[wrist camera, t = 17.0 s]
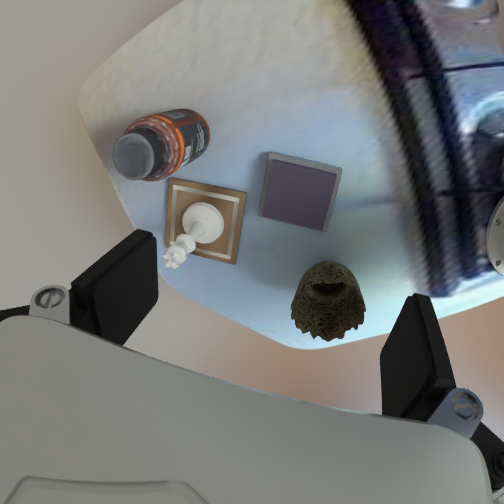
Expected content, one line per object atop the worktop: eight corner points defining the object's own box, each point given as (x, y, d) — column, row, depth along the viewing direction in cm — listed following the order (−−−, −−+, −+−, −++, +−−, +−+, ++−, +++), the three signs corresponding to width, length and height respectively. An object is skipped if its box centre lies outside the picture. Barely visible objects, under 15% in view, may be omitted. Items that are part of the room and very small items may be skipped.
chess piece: (203, 193, 35) (165, 230, 27) (232, 226, 37) (203, 272, 28) (175, 218, 38) (134, 259, 29) (203, 248, 39) (170, 296, 30)
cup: (320, 307, 40) (317, 351, 33) (284, 265, 38) (275, 306, 31) (371, 278, 37) (378, 321, 30) (336, 231, 35) (339, 268, 28)
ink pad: (341, 168, 32) (343, 172, 30) (325, 228, 35) (325, 236, 33) (270, 151, 32) (267, 155, 31) (259, 212, 36) (256, 219, 34)
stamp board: (247, 192, 35) (245, 194, 34) (235, 262, 40) (234, 265, 39) (171, 177, 36) (168, 178, 35) (167, 245, 40) (165, 247, 40)
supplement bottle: (155, 118, 33) (93, 134, 23) (202, 101, 31) (151, 108, 21) (170, 166, 35) (116, 198, 26) (218, 153, 34) (174, 181, 24)
